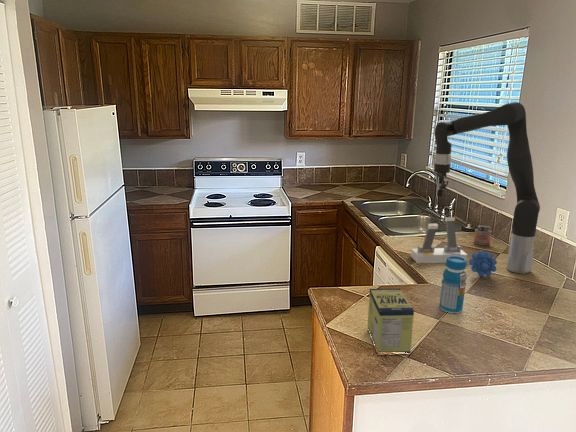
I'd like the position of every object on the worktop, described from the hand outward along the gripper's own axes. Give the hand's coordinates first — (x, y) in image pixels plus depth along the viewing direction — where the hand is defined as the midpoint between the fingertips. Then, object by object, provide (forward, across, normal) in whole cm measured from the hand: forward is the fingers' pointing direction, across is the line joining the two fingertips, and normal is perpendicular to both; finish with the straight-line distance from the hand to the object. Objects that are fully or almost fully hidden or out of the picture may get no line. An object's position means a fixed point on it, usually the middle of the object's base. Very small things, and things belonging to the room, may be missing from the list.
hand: (439, 196), depth 218 cm
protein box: (+28, +87, -50) cm, 104 cm away
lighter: (+27, -3, +27) cm, 38 cm away
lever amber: (+22, +18, -12) cm, 30 cm away
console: (+27, +18, -5) cm, 33 cm away
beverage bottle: (+28, +66, -20) cm, 75 cm away
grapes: (+28, +39, +6) cm, 48 cm away
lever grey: (+22, +18, +1) cm, 28 cm away
